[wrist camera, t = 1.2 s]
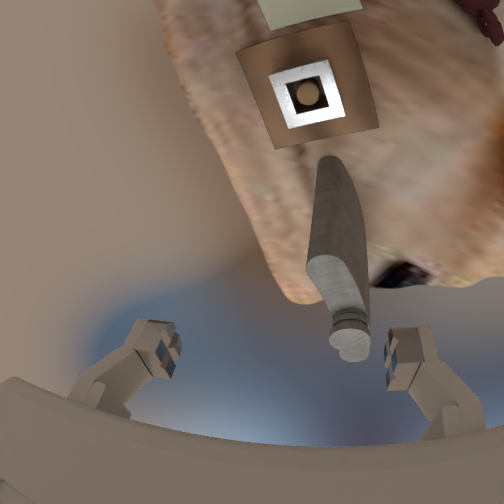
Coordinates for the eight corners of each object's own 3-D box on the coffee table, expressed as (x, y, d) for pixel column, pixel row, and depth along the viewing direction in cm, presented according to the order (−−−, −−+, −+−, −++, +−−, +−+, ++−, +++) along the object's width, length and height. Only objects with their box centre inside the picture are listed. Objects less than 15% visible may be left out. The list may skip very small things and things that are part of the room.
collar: (327, 55, 26) (328, 59, 23) (343, 105, 29) (345, 116, 26) (275, 69, 28) (268, 75, 25) (292, 117, 31) (288, 128, 28)
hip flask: (314, 159, 36) (296, 283, 22) (346, 151, 34) (354, 274, 20) (346, 256, 45) (340, 383, 31) (372, 252, 43) (378, 379, 29)
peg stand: (347, 20, 24) (351, 19, 20) (377, 122, 31) (385, 141, 27) (240, 50, 29) (223, 56, 25) (277, 143, 36) (268, 164, 31)
